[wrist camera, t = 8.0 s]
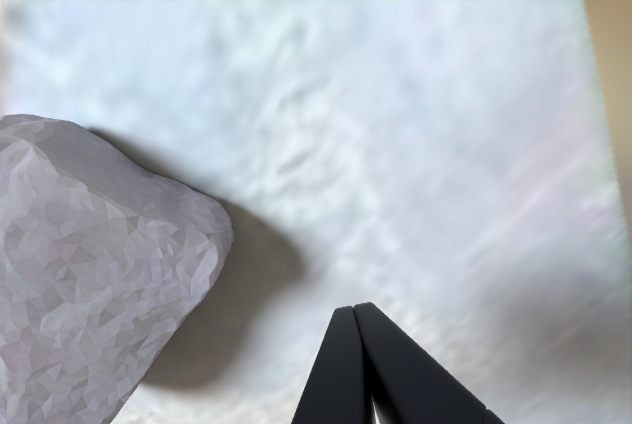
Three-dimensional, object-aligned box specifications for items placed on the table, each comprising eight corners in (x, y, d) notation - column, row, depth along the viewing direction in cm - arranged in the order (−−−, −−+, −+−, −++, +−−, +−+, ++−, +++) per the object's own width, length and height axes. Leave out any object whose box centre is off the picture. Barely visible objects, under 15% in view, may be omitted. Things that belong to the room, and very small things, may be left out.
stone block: (-38, 285, 17) (135, 396, 18) (-182, 347, 12) (61, 494, 13) (61, 75, 14) (263, 221, 15) (-81, 52, 9) (225, 266, 10)
